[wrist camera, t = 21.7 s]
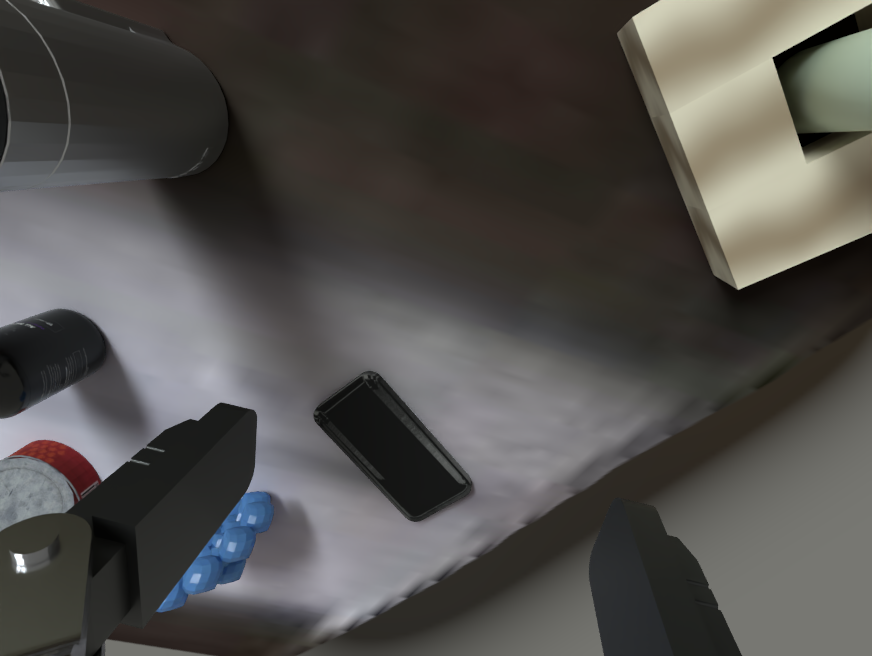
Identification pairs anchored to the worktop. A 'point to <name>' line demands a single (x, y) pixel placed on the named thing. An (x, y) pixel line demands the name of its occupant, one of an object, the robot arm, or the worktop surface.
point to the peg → (830, 85)
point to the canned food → (43, 481)
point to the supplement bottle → (45, 357)
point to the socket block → (748, 131)
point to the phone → (392, 447)
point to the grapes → (224, 550)
